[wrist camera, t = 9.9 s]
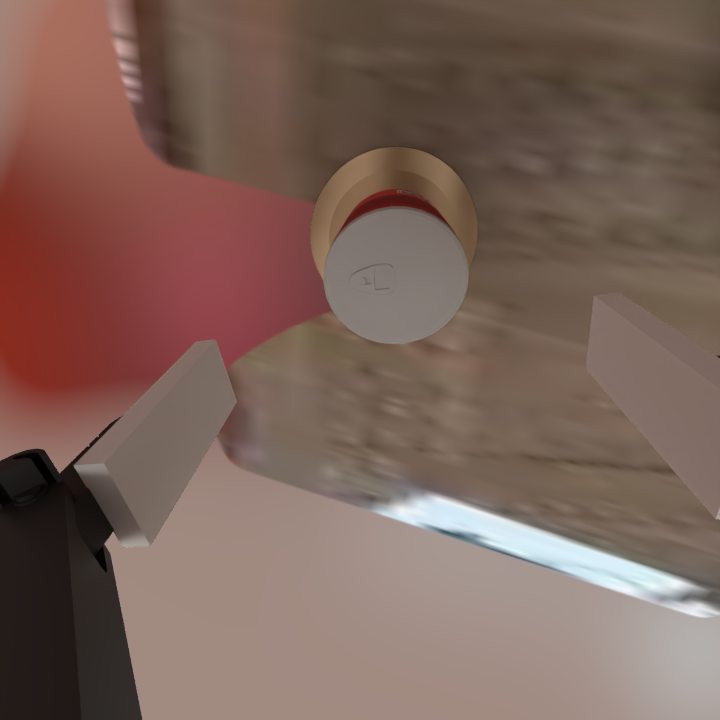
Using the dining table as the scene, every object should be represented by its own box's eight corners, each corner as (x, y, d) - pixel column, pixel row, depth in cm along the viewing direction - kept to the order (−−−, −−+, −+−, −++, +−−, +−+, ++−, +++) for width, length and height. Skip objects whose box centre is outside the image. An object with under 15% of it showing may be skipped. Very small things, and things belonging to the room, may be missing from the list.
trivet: (473, 132, 29) (476, 131, 28) (477, 305, 35) (479, 308, 34) (296, 162, 31) (293, 162, 30) (328, 322, 37) (326, 326, 36)
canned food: (327, 209, 31) (299, 239, 21) (430, 170, 30) (449, 182, 20) (362, 300, 34) (351, 361, 25) (456, 269, 33) (484, 322, 23)
